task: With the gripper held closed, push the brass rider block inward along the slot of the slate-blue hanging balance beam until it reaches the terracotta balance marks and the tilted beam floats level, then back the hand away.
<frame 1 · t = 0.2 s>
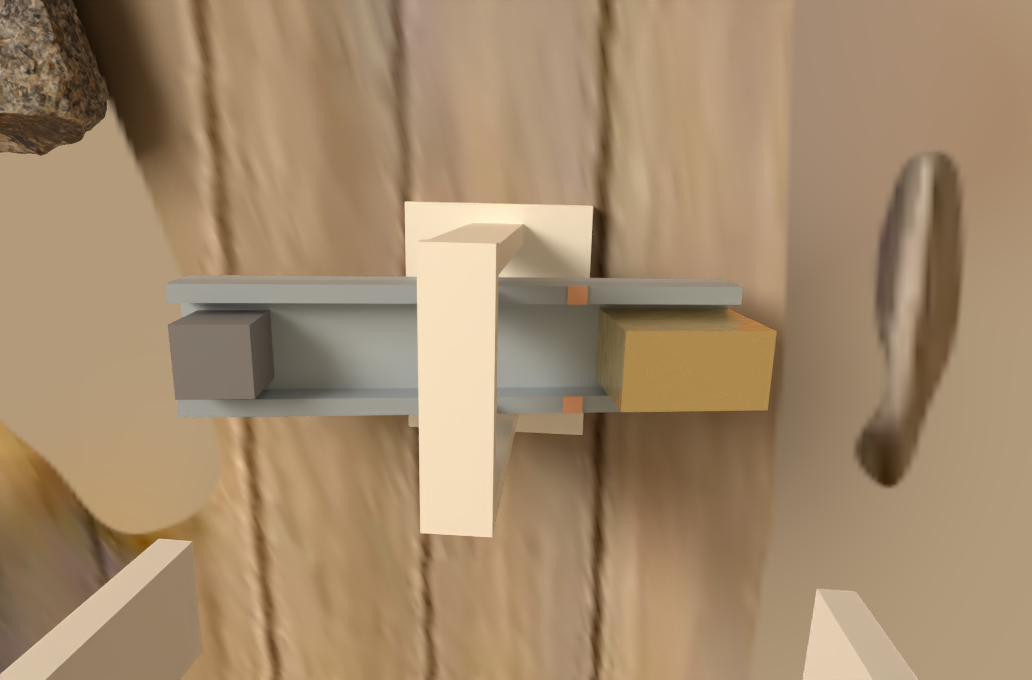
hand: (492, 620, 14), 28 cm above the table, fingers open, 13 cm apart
stand: (498, 318, 41), on the table
rider: (661, 343, 35), point 5 cm above the table, tilted 10°, touching beam
rock: (16, 30, 40), on the table
beam: (466, 356, 32), point 9 cm above the table, hinge at -10.0°, touching rider
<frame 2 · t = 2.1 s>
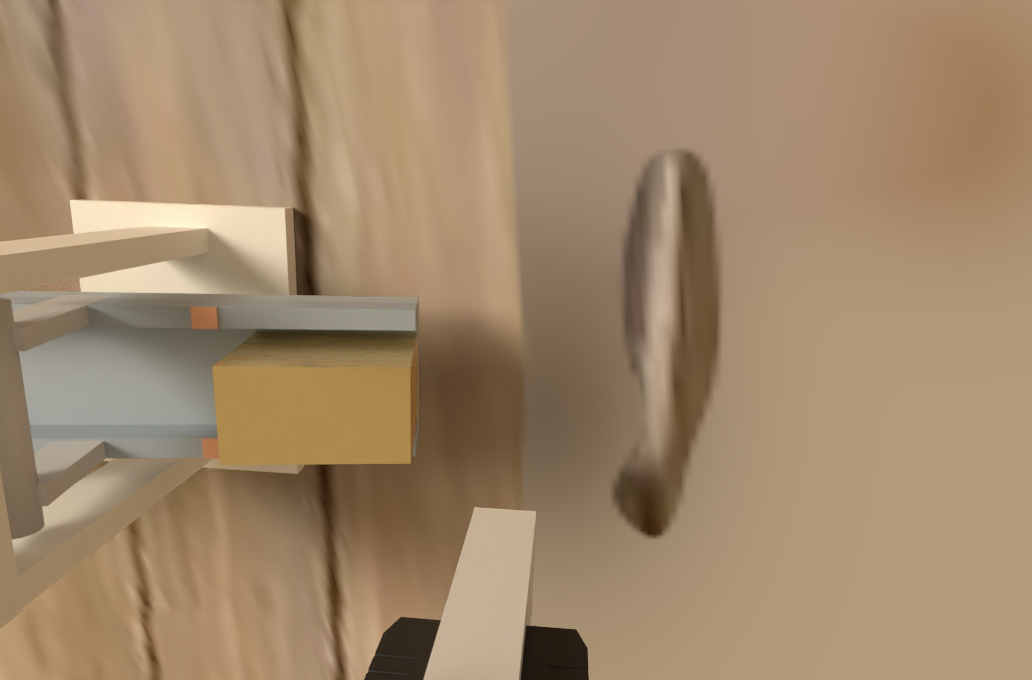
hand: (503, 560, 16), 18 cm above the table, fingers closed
stand: (198, 337, 35), on the table
rider: (338, 373, 30), point 5 cm above the table, tilted 10°, touching beam
beam: (57, 391, 26), point 9 cm above the table, hinge at -10.0°, touching rider
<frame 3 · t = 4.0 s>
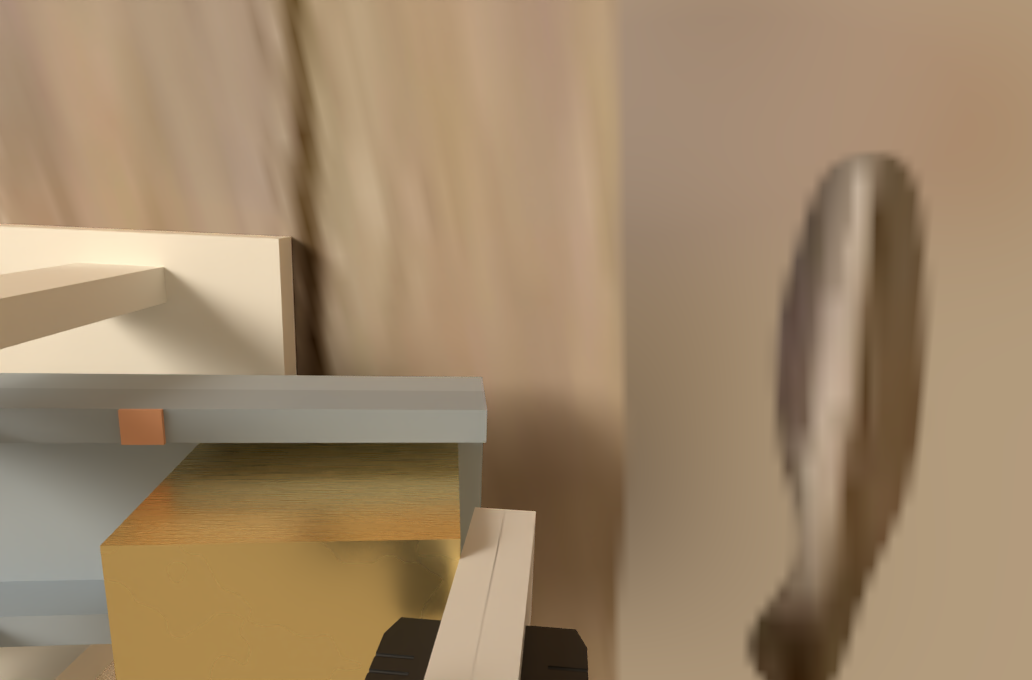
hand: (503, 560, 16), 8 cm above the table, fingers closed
stand: (154, 420, 24), on the table
rider: (334, 501, 19), point 5 cm above the table, tilted 10°, touching gripper
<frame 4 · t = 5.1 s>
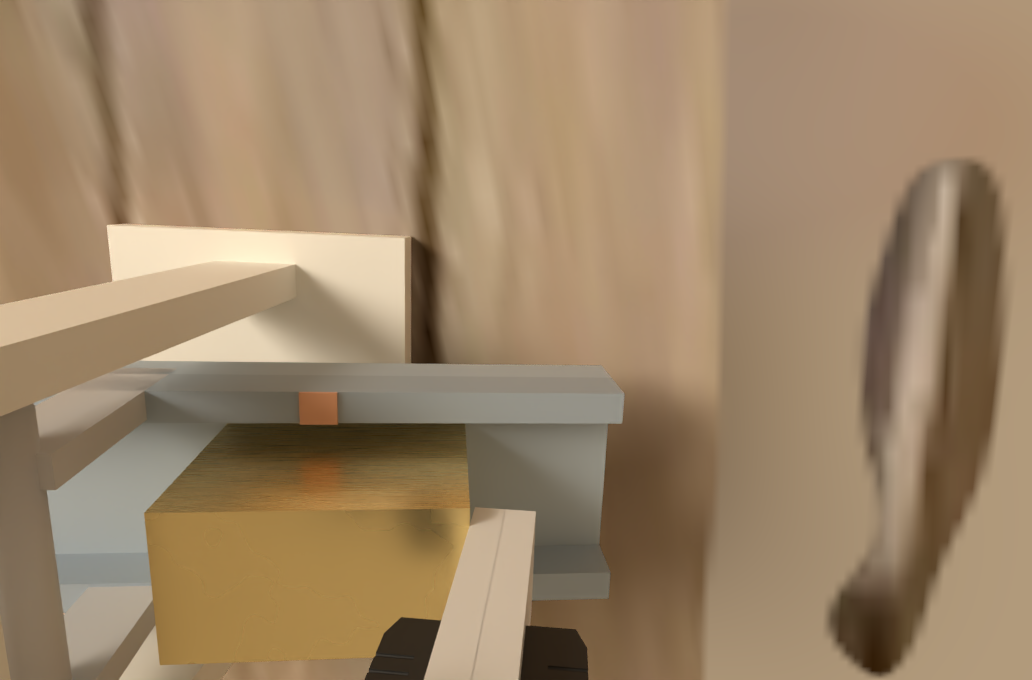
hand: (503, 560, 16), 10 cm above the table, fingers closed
stand: (274, 408, 26), on the table
rider: (350, 481, 20), point 6 cm above the table, tilted 10°, touching beam, gripper
beam: (99, 522, 17), point 9 cm above the table, hinge at -9.9°, touching rider
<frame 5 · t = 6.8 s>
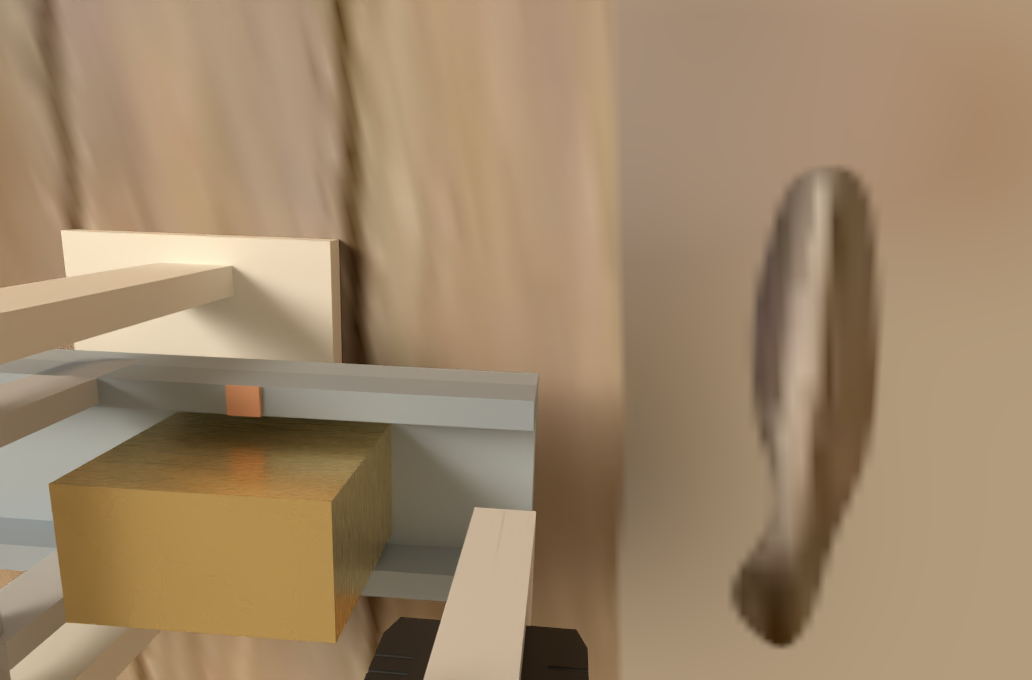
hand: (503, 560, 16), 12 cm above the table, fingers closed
stand: (218, 398, 28), on the table
rider: (286, 472, 22), point 7 cm above the table, touching beam
beam: (53, 492, 19), point 9 cm above the table, hinge at -0.6°, touching rider
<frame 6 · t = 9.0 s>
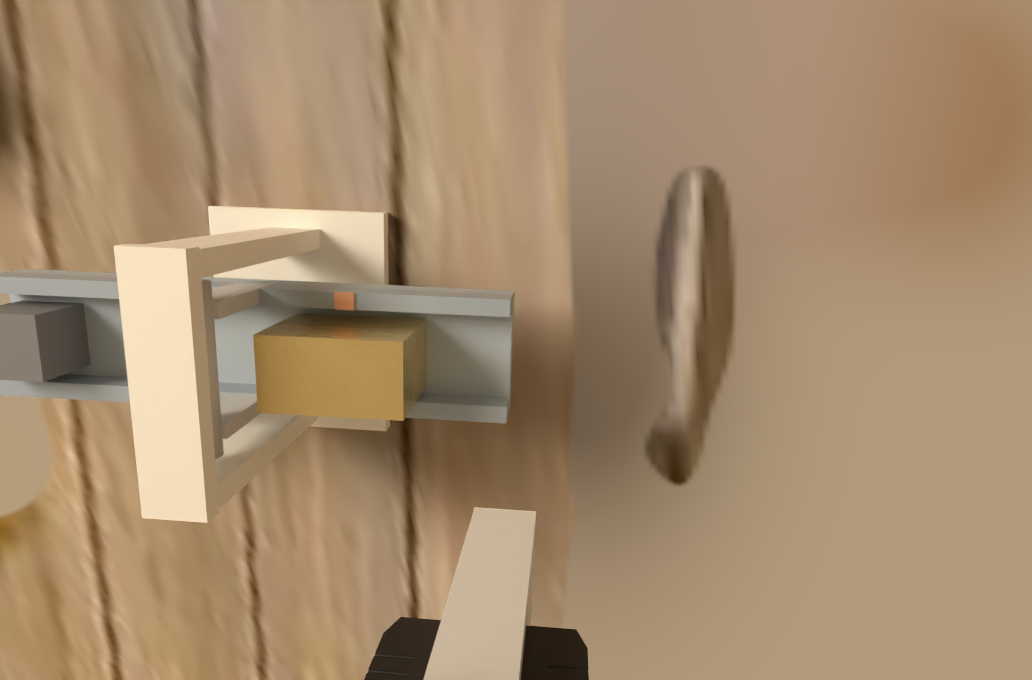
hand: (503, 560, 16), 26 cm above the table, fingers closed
stand: (305, 319, 43), on the table
rider: (363, 349, 36), point 7 cm above the table, touching beam
beam: (234, 354, 34), point 9 cm above the table, hinge at -0.8°, touching rider
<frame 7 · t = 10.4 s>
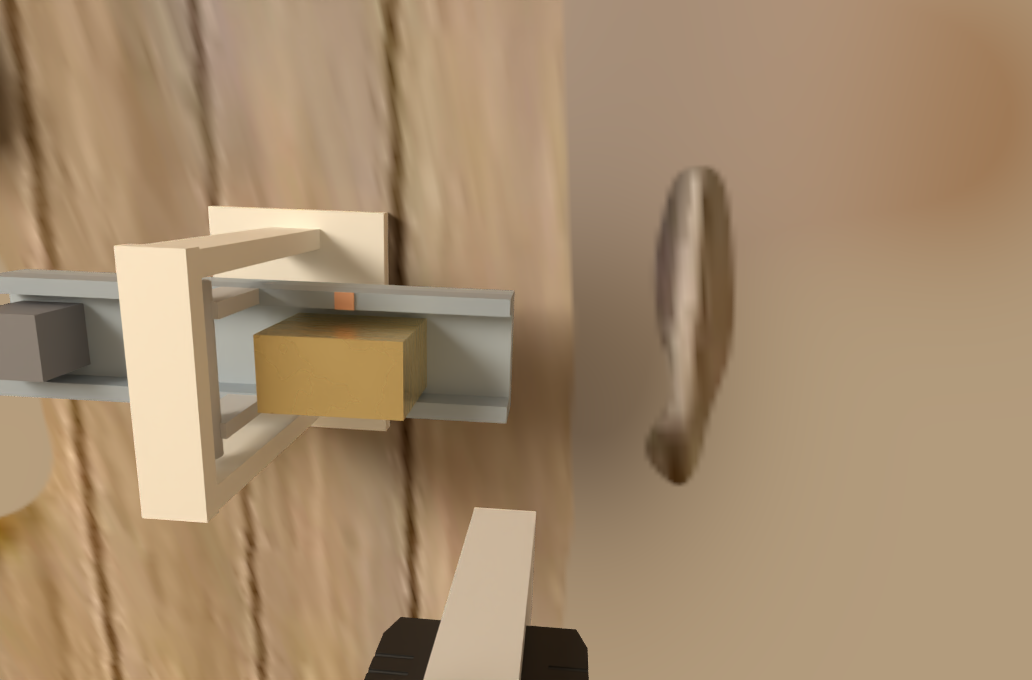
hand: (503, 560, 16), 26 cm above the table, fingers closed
stand: (305, 319, 43), on the table
rider: (363, 349, 36), point 7 cm above the table, touching beam
beam: (234, 354, 34), point 9 cm above the table, hinge at -0.8°, touching rider
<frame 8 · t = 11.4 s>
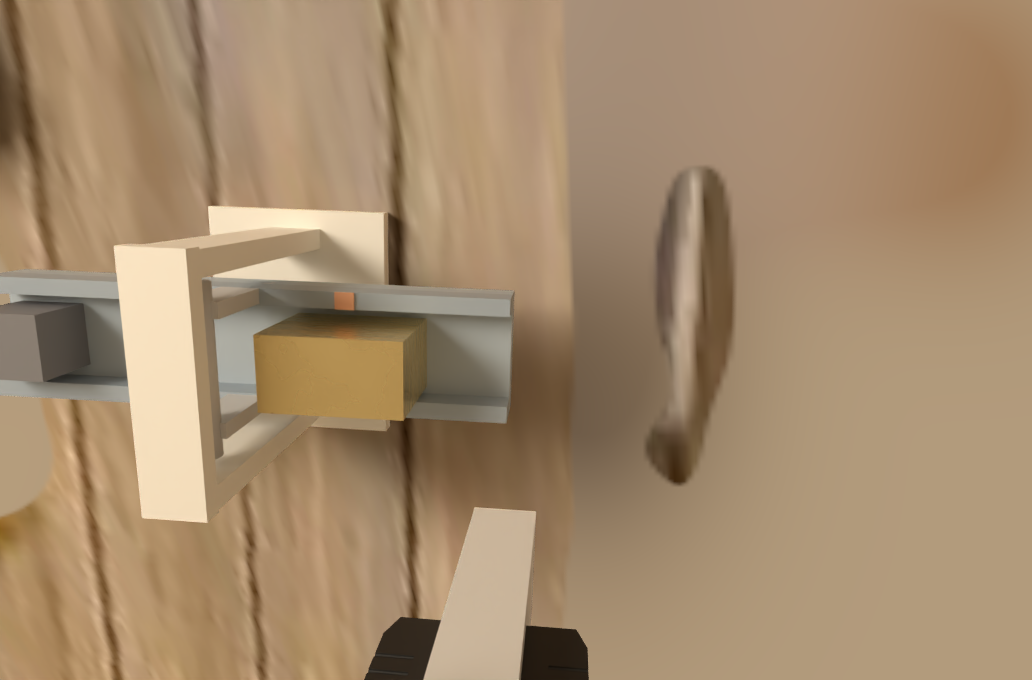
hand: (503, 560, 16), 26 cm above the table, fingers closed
stand: (305, 319, 43), on the table
rider: (363, 349, 36), point 7 cm above the table, touching beam
beam: (234, 354, 34), point 9 cm above the table, hinge at -0.8°, touching rider
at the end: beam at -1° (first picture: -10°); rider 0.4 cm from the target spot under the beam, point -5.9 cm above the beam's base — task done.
